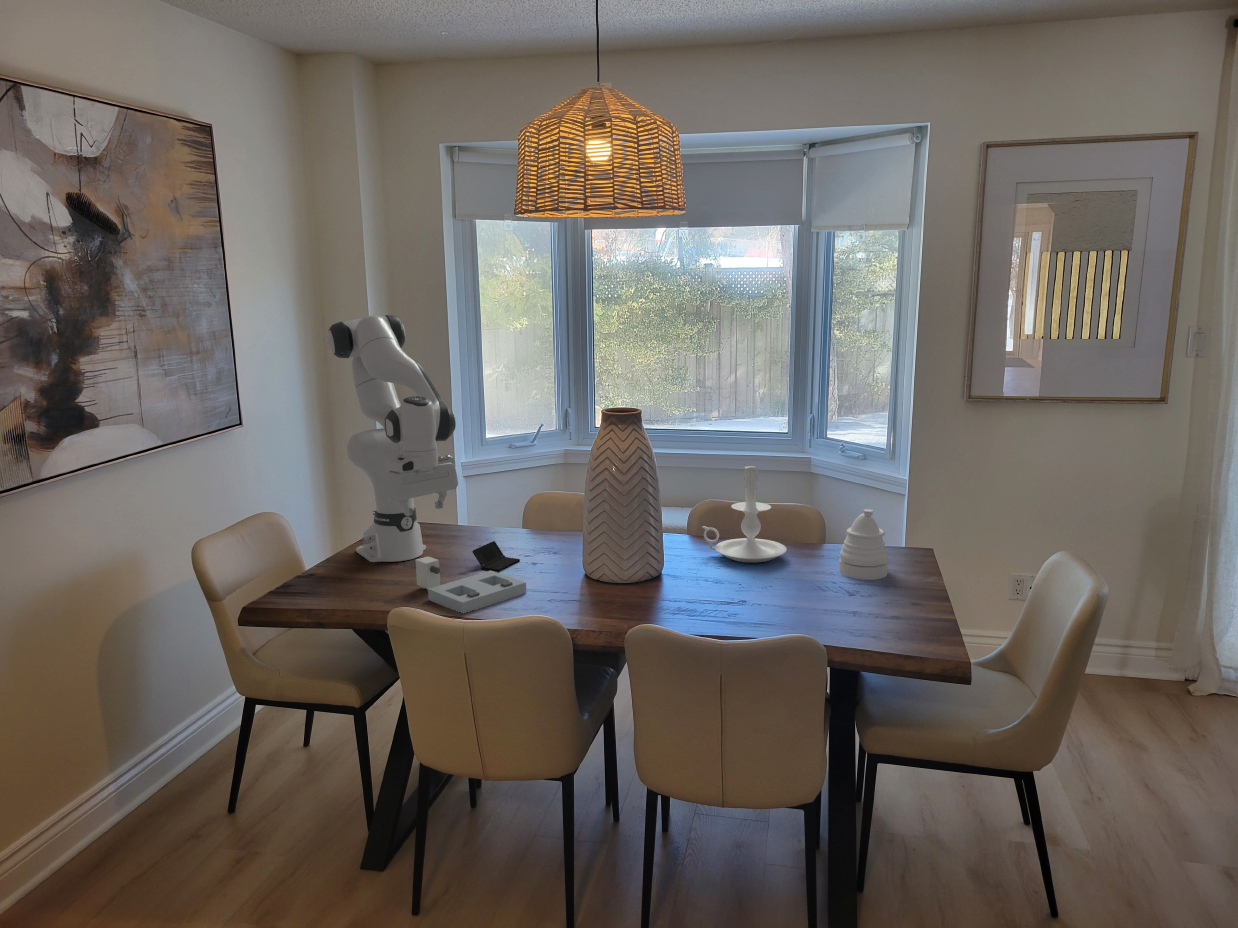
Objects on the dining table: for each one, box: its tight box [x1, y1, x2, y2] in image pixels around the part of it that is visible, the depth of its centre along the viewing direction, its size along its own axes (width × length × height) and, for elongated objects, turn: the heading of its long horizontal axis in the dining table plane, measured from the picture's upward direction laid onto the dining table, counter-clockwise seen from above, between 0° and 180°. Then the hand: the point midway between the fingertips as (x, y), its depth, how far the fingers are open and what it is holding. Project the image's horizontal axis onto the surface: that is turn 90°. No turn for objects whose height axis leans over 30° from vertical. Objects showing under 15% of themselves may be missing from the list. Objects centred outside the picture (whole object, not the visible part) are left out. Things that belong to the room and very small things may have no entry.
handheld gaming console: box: [471, 540, 521, 573], centre depth 248 cm, size 12×7×10 cm
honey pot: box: [838, 508, 889, 581], centre depth 234 cm, size 13×13×18 cm
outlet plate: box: [427, 570, 527, 615], centre depth 222 cm, size 15×20×4 cm
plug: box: [415, 556, 441, 592], centre depth 227 cm, size 7×4×8 cm, turn 46°
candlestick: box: [701, 463, 787, 564], centre depth 248 cm, size 21×25×28 cm
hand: (424, 511), depth 225 cm, fingers open, 8 cm apart
